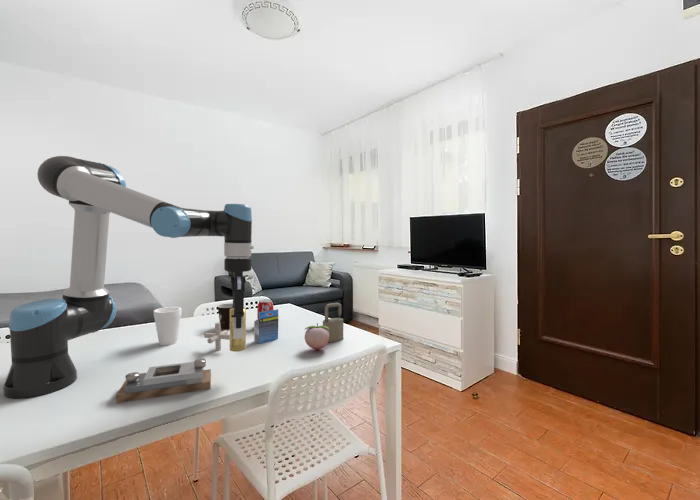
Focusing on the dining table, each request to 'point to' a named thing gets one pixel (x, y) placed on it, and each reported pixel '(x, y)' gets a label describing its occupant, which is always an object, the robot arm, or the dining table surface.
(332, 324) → the padlock
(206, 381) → the walnut board
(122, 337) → the dining table surface
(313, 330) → the decorative fruit
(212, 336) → the pipe connector
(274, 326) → the label tape box
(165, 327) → the foam cup
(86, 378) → the dining table surface
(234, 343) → the brass pin
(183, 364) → the grey slotted fixture
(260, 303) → the soda can
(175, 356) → the dining table surface
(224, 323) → the coffee mug
